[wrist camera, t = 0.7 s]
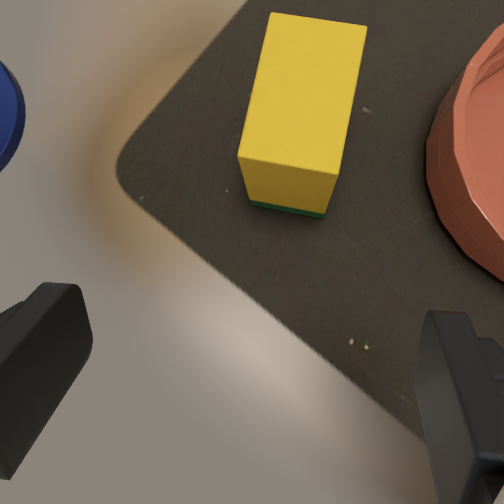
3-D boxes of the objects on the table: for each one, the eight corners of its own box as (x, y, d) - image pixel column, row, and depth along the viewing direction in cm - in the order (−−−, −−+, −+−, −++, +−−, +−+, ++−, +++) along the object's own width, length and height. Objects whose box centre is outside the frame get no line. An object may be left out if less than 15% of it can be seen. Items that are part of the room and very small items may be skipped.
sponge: (250, 205, 28) (236, 156, 20) (274, 98, 29) (270, 11, 21) (322, 219, 27) (338, 174, 19) (344, 110, 28) (368, 25, 20)
